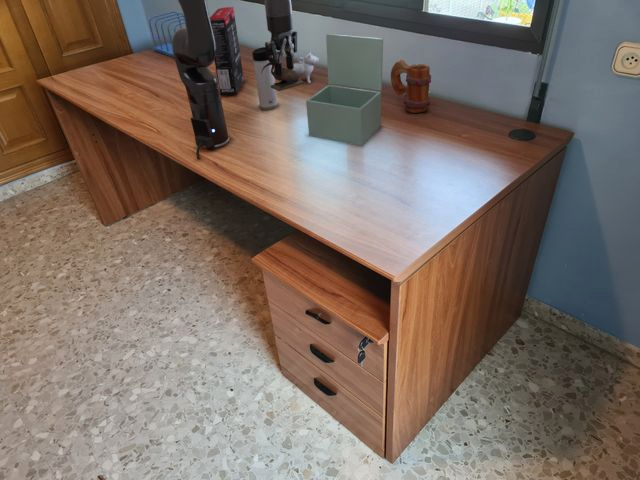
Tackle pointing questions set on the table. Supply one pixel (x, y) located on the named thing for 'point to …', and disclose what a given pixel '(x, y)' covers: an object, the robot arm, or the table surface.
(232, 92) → the graphics card box
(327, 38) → the lid
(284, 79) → the figurine
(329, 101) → the chest
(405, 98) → the mug
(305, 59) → the dog figurine
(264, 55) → the travel mug
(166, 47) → the file sorter
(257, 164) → the table surface
